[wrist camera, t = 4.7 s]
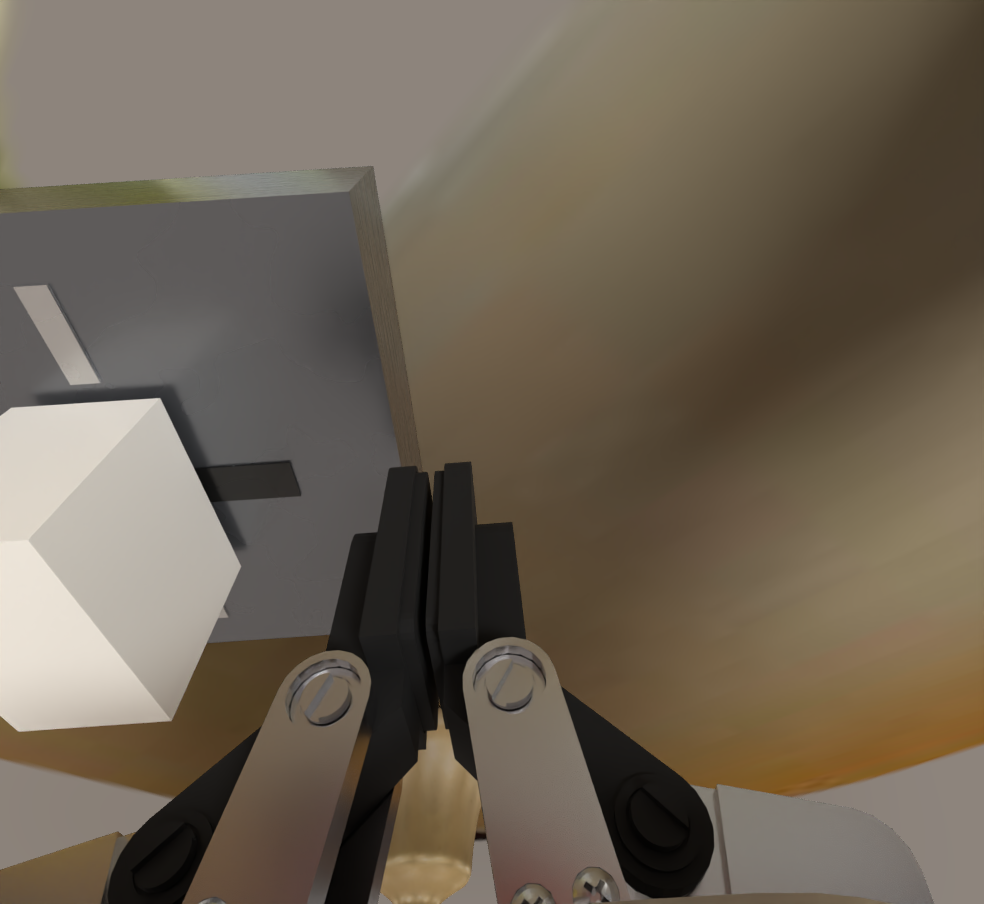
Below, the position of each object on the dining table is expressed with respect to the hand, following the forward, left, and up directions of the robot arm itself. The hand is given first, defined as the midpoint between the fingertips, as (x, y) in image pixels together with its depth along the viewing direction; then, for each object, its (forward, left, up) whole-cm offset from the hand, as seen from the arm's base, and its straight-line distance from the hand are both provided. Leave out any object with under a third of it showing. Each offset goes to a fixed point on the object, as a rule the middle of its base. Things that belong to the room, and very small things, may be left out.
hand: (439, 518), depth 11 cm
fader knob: (+7, 0, -1) cm, 7 cm away
